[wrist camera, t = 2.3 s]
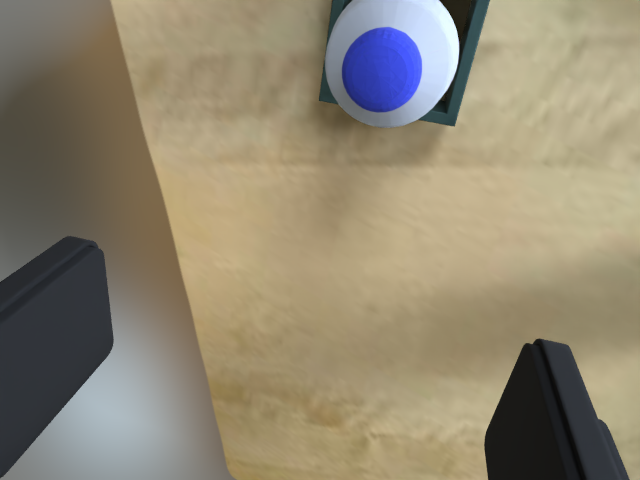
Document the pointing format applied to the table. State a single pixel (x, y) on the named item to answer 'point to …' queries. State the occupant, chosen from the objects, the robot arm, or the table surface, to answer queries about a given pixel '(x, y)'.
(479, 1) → the tray
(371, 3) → the bottle
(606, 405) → the table surface
